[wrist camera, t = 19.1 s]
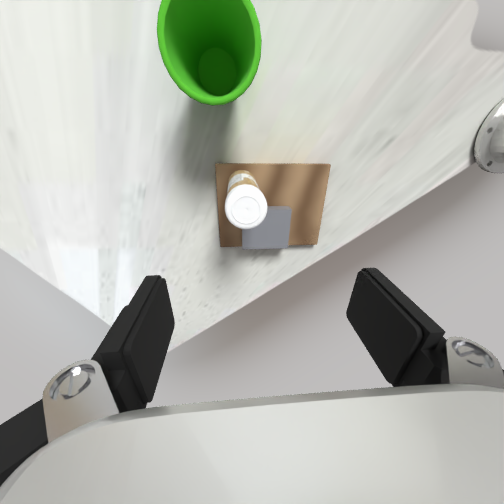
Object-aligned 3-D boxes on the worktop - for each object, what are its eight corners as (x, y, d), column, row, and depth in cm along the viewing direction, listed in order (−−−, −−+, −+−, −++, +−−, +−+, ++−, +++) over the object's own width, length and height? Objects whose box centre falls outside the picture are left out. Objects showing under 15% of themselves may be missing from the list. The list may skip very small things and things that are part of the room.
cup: (226, 129, 32) (224, 126, 22) (169, 80, 28) (137, 52, 19) (265, 67, 29) (282, 33, 19) (206, 5, 25) (191, -74, 16)
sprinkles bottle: (261, 188, 35) (276, 215, 23) (238, 204, 36) (240, 238, 24) (245, 162, 33) (253, 178, 21) (221, 180, 34) (215, 204, 22)
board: (327, 163, 35) (330, 164, 34) (314, 241, 42) (317, 244, 41) (215, 163, 34) (215, 164, 33) (220, 244, 40) (220, 246, 39)
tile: (291, 209, 35) (241, 210, 34) (287, 248, 38) (242, 249, 37) (288, 205, 37) (241, 206, 36) (285, 242, 40) (241, 243, 39)
